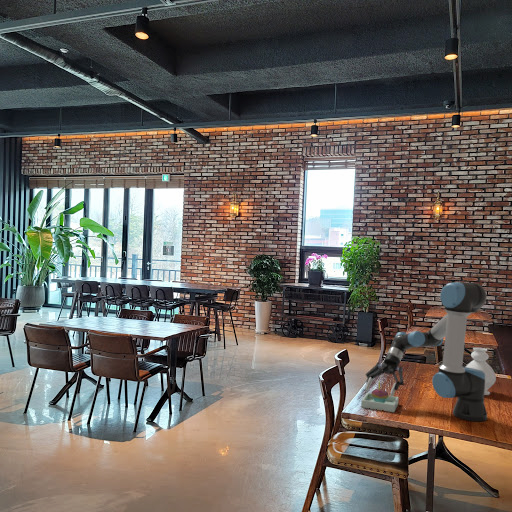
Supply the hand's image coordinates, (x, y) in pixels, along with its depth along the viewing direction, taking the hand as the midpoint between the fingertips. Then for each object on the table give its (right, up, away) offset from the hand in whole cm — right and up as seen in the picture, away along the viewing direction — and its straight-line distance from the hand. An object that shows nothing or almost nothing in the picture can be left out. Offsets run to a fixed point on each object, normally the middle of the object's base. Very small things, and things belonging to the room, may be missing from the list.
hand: (378, 392), depth 256 cm
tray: (+1, -7, +2) cm, 8 cm away
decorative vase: (+66, -10, +38) cm, 77 cm away
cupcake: (+1, -6, +2) cm, 7 cm away
